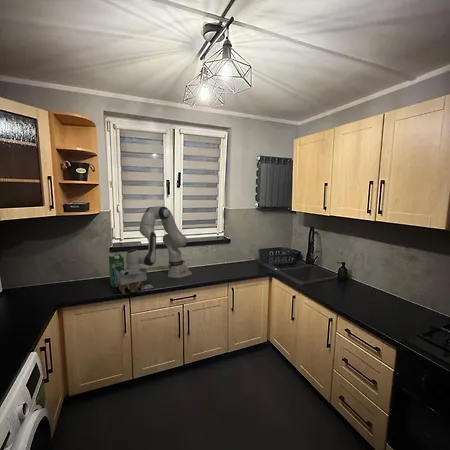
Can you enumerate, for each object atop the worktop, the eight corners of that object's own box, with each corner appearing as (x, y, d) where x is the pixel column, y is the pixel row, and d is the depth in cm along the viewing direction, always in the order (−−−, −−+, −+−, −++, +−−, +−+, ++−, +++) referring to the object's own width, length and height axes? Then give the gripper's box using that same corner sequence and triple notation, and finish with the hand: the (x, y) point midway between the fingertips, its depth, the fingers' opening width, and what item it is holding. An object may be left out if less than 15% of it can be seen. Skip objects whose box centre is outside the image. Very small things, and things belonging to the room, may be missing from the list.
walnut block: (136, 289, 199) (135, 281, 198) (138, 291, 195) (137, 283, 194) (129, 290, 196) (129, 283, 195) (131, 292, 192) (131, 285, 191)
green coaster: (149, 284, 212) (149, 284, 212) (153, 287, 206) (153, 286, 206) (140, 286, 207) (140, 286, 207) (144, 289, 201) (144, 289, 201)
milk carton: (113, 287, 205) (111, 257, 202) (110, 284, 212) (108, 255, 209) (124, 285, 211) (123, 255, 208) (121, 282, 218) (120, 253, 215)
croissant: (137, 285, 211) (137, 278, 210) (142, 289, 201) (142, 282, 201) (118, 289, 202) (118, 282, 201) (123, 293, 192) (123, 286, 192)
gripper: (145, 267, 202) (145, 284, 204) (118, 271, 190) (118, 289, 191) (147, 269, 197) (148, 286, 199) (120, 273, 185) (121, 292, 186)
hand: (133, 288), depth 195 cm, fingers closed on walnut block, 5 cm apart
